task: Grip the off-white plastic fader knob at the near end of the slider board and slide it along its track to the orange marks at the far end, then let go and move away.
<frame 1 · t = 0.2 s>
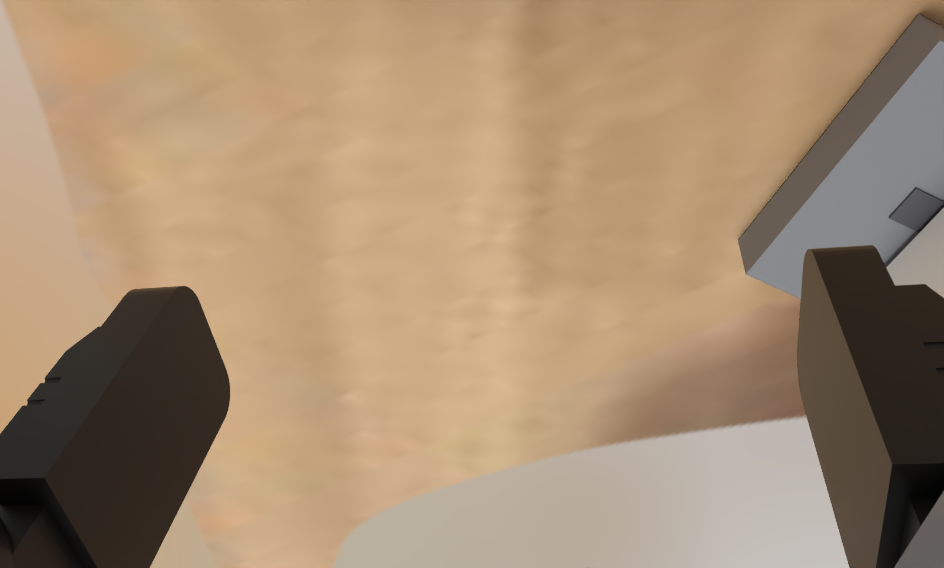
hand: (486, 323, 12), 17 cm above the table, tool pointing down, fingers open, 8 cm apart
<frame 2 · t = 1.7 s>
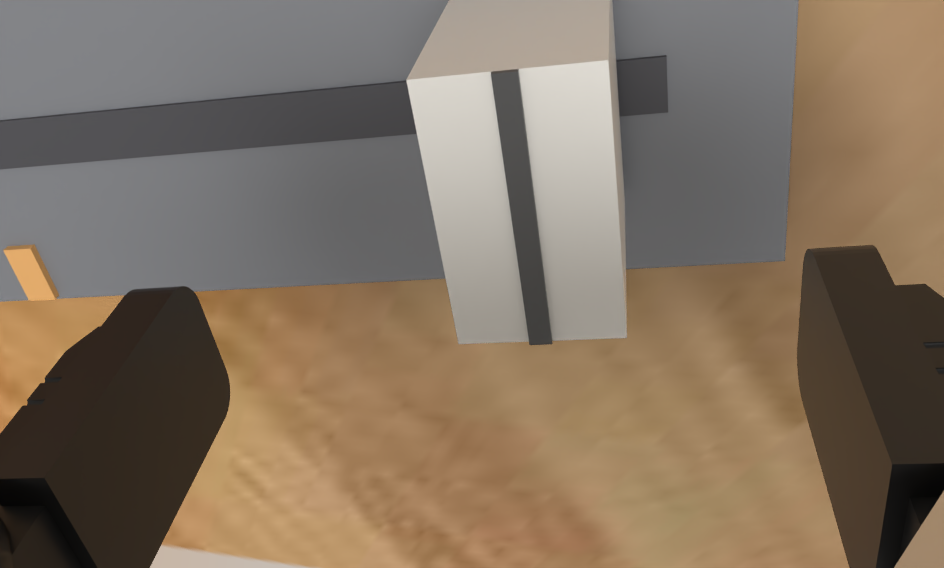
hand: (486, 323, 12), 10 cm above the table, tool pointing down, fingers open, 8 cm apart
slider board: (268, 89, 22), on the table
fader: (536, 152, 16), point 5 cm above the table, slide at -7.0 cm
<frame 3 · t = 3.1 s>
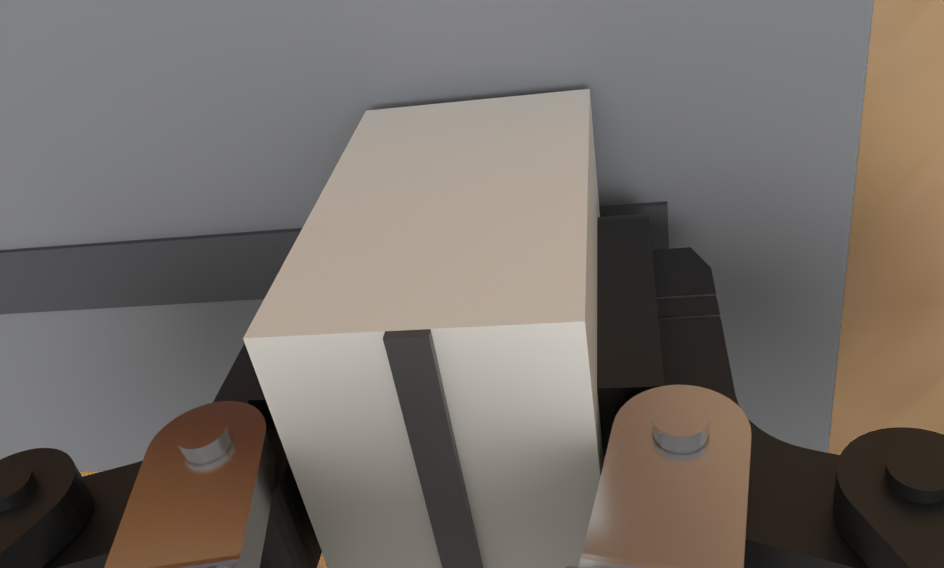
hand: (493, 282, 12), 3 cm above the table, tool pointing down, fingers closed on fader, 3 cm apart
slider board: (131, 215, 16), on the table
fader: (481, 370, 11), point 5 cm above the table, slide at -7.1 cm, touching gripper
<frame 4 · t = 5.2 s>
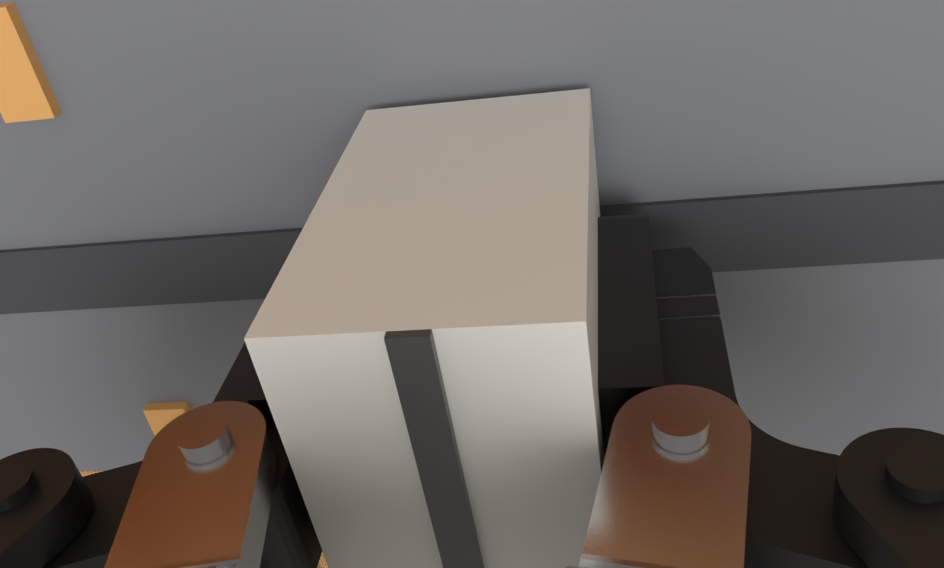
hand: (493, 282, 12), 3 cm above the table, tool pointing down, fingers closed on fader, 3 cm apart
slider board: (542, 182, 15), on the table
fader: (481, 370, 11), point 5 cm above the table, slide at 0.5 cm, touching gripper
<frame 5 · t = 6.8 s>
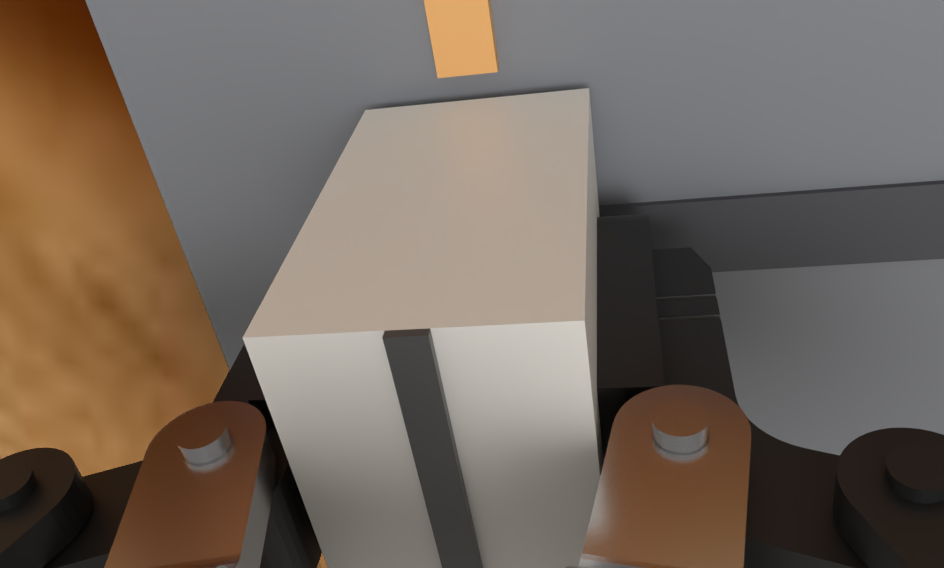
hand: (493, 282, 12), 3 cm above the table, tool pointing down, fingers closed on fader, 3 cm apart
fader: (480, 370, 11), point 5 cm above the table, slide at 6.9 cm, touching gripper
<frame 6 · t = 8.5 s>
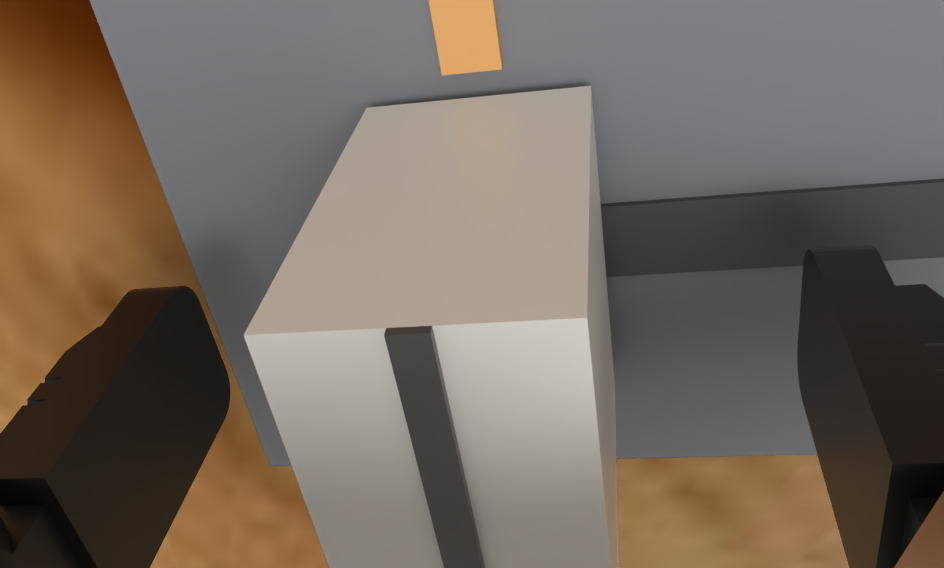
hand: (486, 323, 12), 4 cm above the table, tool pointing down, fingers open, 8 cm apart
fader: (482, 368, 11), point 5 cm above the table, slide at 7.0 cm
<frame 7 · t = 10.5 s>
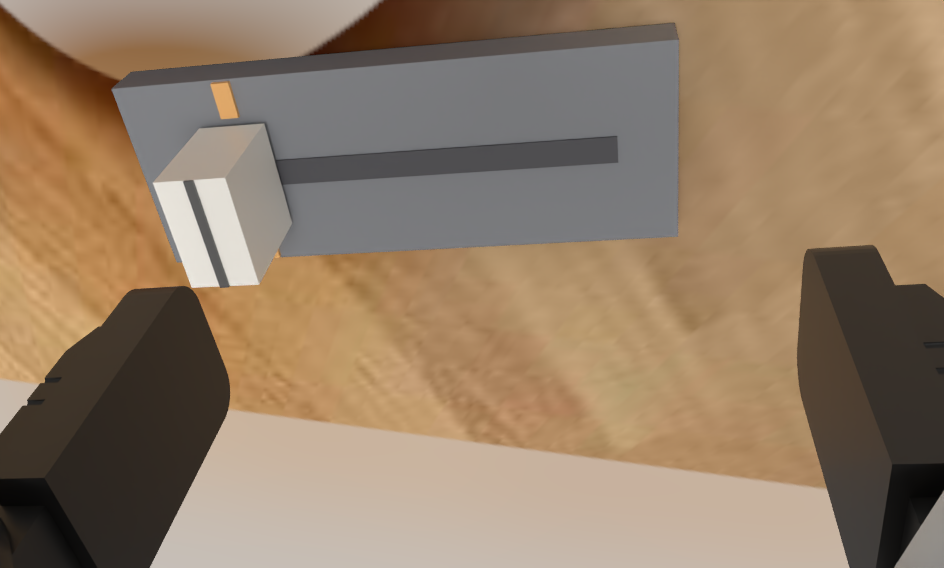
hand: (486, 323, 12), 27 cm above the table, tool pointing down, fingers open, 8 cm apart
slider board: (406, 143, 40), on the table
fader: (228, 205, 37), point 5 cm above the table, slide at 7.0 cm
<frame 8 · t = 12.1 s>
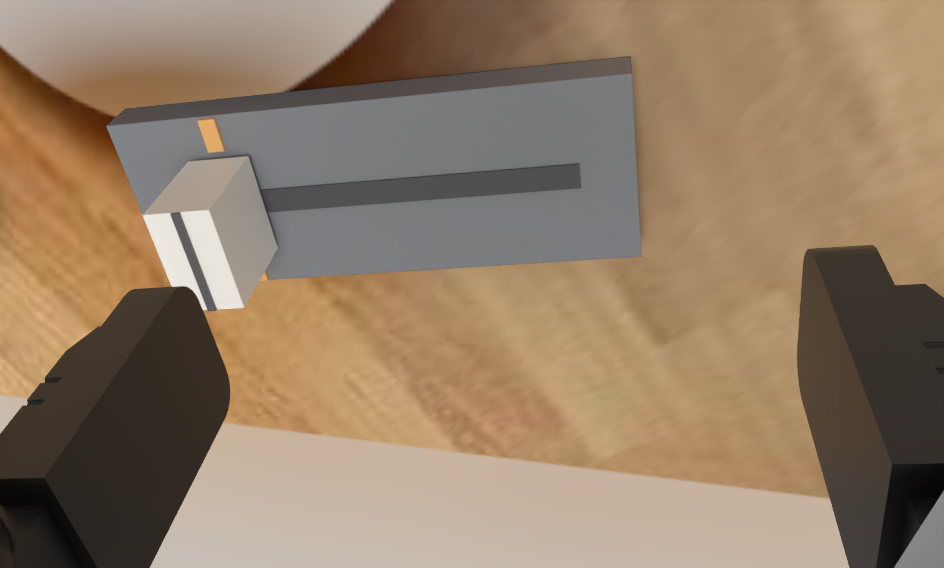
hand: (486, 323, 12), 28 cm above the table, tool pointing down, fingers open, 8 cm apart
slider board: (384, 172, 42), on the table
fader: (215, 233, 40), point 5 cm above the table, slide at 7.0 cm
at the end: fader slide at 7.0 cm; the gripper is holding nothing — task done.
